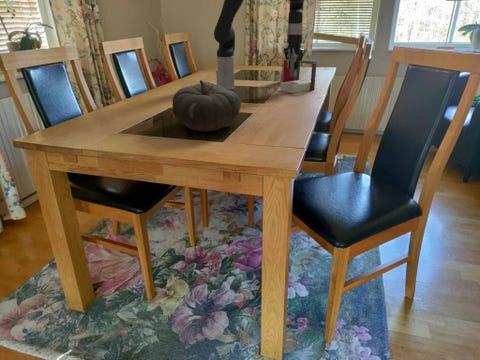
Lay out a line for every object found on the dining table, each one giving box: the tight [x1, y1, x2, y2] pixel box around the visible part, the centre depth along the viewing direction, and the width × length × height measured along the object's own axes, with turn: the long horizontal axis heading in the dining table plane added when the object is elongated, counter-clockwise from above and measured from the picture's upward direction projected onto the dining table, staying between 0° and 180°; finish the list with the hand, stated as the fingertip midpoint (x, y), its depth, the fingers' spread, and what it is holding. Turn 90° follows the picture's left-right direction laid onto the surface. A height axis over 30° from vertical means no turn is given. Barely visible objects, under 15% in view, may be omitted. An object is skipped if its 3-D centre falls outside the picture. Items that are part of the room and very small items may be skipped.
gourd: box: [171, 79, 242, 133], centre depth 124 cm, size 25×25×17 cm
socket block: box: [280, 79, 311, 94], centre depth 183 cm, size 13×10×4 cm
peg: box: [290, 53, 297, 77], centre depth 176 cm, size 3×3×12 cm
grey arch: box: [295, 58, 318, 92], centre depth 183 cm, size 4×14×15 cm, turn 36°
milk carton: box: [279, 49, 295, 84], centre depth 199 cm, size 9×9×20 cm
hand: (293, 68), depth 177 cm, fingers closed on peg, 3 cm apart
